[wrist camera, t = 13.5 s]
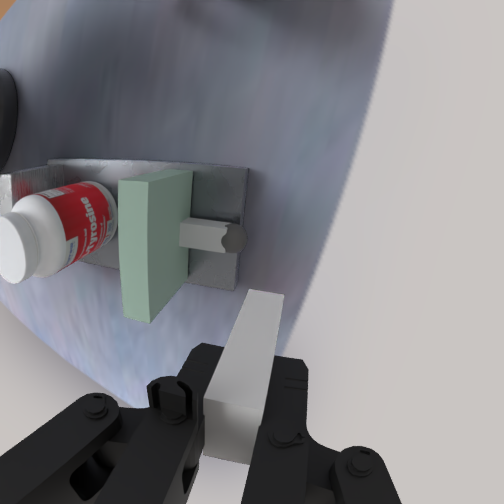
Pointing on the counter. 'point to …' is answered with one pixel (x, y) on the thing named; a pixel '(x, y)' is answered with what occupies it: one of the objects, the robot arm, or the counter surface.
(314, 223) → the counter surface
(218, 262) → the vise base
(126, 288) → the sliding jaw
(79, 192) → the pill bottle
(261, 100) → the counter surface
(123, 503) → the robot arm
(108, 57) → the counter surface
